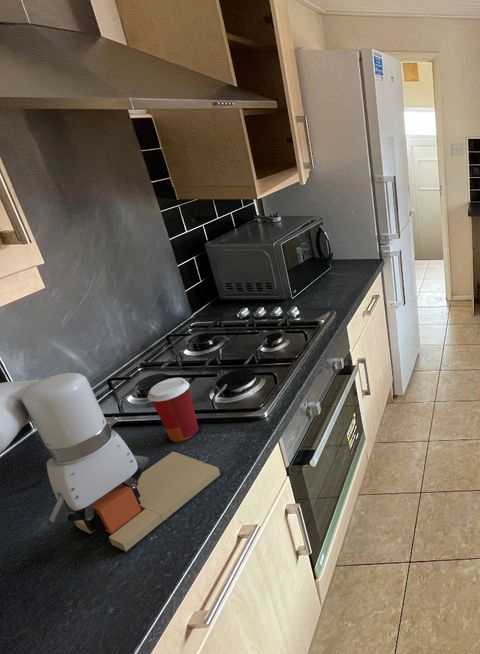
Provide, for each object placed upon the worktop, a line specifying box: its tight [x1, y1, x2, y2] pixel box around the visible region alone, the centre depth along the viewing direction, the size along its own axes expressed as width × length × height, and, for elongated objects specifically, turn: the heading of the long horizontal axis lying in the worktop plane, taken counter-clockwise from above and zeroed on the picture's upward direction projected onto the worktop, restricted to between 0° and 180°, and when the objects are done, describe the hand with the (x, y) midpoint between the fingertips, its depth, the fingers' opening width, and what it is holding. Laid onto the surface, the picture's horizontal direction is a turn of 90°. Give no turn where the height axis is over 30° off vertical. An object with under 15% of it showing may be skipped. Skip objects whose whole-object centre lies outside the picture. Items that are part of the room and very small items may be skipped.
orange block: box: [94, 483, 141, 535], centre depth 78 cm, size 5×5×6 cm
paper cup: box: [147, 377, 199, 443], centre depth 99 cm, size 8×8×14 cm
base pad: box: [73, 451, 221, 552], centre depth 84 cm, size 18×14×2 cm
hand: (116, 515), depth 79 cm, fingers closed on orange block, 5 cm apart
